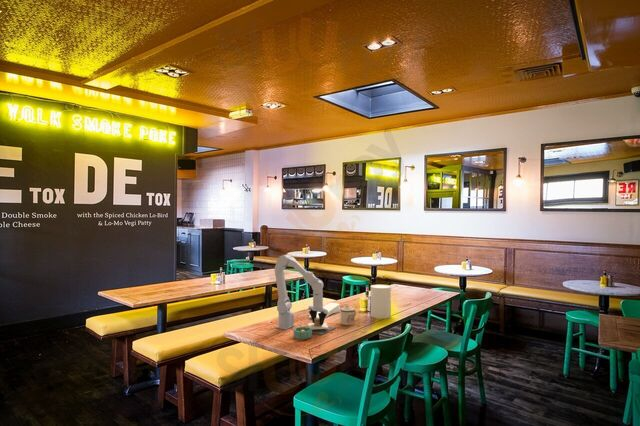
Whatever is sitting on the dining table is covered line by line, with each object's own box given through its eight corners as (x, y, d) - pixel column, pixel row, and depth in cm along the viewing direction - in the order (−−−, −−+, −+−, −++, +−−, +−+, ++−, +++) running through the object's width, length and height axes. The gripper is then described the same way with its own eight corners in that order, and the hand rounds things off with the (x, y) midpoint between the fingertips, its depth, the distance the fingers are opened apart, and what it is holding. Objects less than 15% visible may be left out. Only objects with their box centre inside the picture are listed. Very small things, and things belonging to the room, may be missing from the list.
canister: (376, 319, 253) (376, 288, 253) (367, 314, 266) (367, 285, 266) (394, 317, 257) (394, 287, 257) (385, 312, 270) (384, 283, 270)
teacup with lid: (347, 326, 237) (347, 307, 237) (337, 323, 243) (337, 304, 244) (360, 322, 245) (360, 304, 245) (350, 319, 252) (350, 301, 252)
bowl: (301, 332, 224) (301, 325, 224) (315, 335, 219) (315, 328, 219) (290, 337, 216) (290, 330, 216) (304, 340, 210) (304, 333, 210)
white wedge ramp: (319, 329, 251) (340, 314, 275) (321, 318, 250) (342, 304, 273) (307, 323, 256) (328, 308, 280) (308, 313, 255) (330, 299, 278)
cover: (307, 324, 234) (307, 316, 235) (325, 323, 236) (325, 315, 236) (309, 329, 224) (309, 321, 224) (328, 328, 225) (328, 320, 225)
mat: (314, 324, 240) (314, 323, 240) (335, 328, 232) (335, 327, 232) (300, 330, 228) (300, 329, 228) (321, 335, 219) (321, 334, 219)
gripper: (304, 300, 232) (304, 322, 232) (321, 303, 222) (321, 327, 222) (313, 298, 237) (313, 320, 237) (330, 301, 227) (330, 325, 227)
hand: (318, 323), depth 230 cm, fingers closed on cover, 6 cm apart
